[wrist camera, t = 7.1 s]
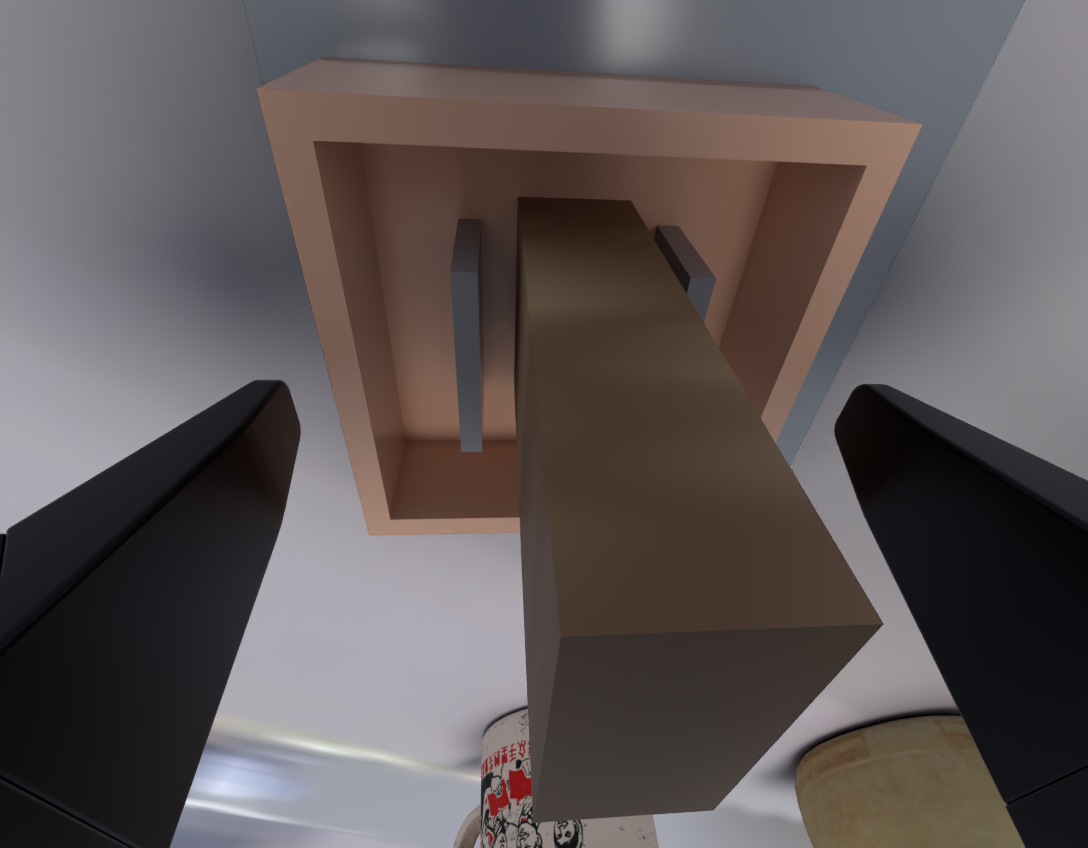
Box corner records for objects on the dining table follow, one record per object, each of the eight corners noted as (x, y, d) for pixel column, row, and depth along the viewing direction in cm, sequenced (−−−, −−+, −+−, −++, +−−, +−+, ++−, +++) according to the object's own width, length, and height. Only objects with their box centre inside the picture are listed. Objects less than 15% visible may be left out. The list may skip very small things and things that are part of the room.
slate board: (1048, -147, 8) (1107, -160, 7) (755, 486, 17) (767, 510, 16) (213, -236, 7) (179, -261, 6) (375, 491, 16) (368, 516, 15)
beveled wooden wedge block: (630, 200, 9) (884, 624, 3) (602, 383, 12) (713, 810, 6) (518, 196, 9) (561, 637, 3) (513, 383, 12) (532, 823, 6)
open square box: (813, 85, 9) (922, 124, 7) (697, 438, 14) (735, 527, 12) (322, 56, 8) (256, 88, 6) (391, 439, 13) (369, 535, 11)
